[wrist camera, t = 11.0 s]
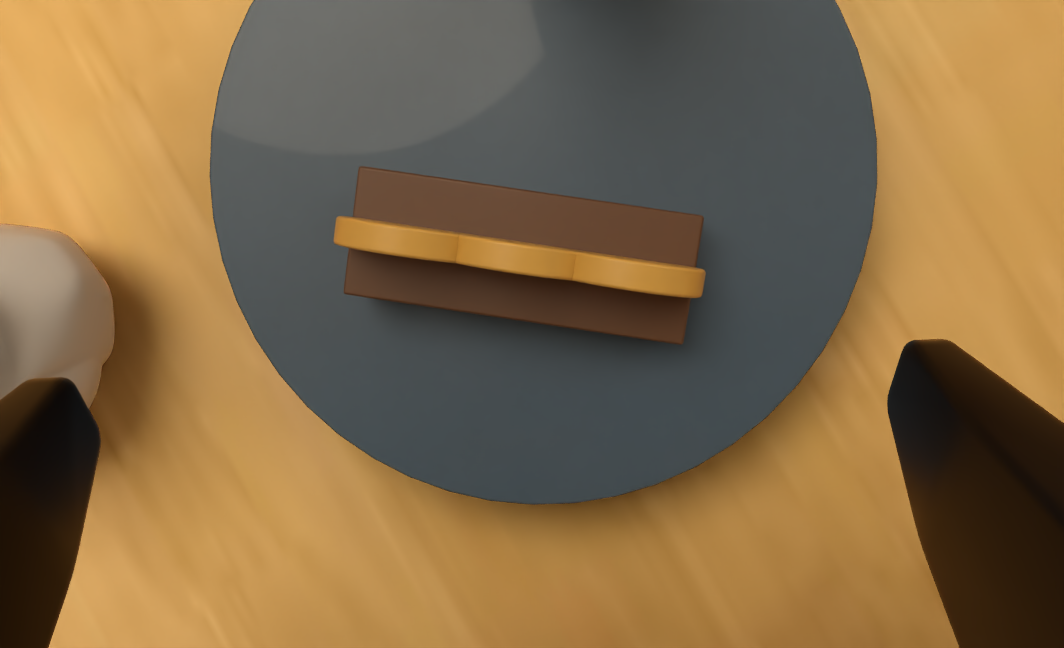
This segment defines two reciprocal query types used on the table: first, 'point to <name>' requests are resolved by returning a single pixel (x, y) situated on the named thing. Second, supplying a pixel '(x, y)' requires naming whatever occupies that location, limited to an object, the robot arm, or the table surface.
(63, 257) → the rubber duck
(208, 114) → the table surface
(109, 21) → the table surface
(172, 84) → the table surface
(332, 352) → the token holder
